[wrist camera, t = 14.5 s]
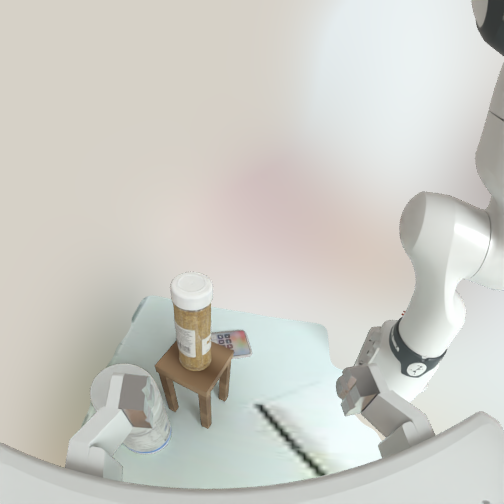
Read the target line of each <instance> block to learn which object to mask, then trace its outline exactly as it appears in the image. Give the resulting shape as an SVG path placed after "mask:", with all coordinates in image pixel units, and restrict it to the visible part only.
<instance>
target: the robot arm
mask: <svg viewBox="0 0 504 504" xmlns="http://www.w3.org/2000/svg"><path fill="white" fill-rule="evenodd" d="M472 8H473V12H474V15H475V18H476V25H477V28H478V30H479V32H480V34H481V36H482V37H483V39H484V41H485V42H487V43H488V44H489V45H490V46H491V47H493V48H494V49H495V50H496V51H498V52H499V53H500V54H502V55H503V56H504V0H472ZM475 159H476V168H477V172H478V174H479V176H480V178H481V180H482V182H483V183H484V185H485V187H486V188H487V189H488V191H489V192H490V194H491V195H492V196H491V201H490V204H489V206H488V207H487V209H485V210H483V209H480V208H477V207H475V206H473V205H471V204H469V203H466V202H464V201H462V200H459V199H457V198H455V197H452V196H450V195H444V194H439V193H431V192H420V193H419V194H417V195H415V196H414V197H413V198H412V199H411V200H410V201H409V202H408V204H407V205H406V207H405V208H404V210H403V213H402V216H401V219H400V228H399V229H400V239H401V243H402V245H403V248H404V250H405V252H406V253H407V255H408V256H409V258H410V260H411V262H412V264H413V267H414V270H415V276H416V285H415V290H414V294H413V296H412V299H411V301H410V303H409V305H408V308H407V310H406V311H404V312H405V313H404V314H402V315H403V317H402V318H400V319H399V320H388V321H386V322H384V324H383V325H382V327H372V328H371V329H370V330H369V332H368V335H367V337H366V340H365V342H364V344H363V347H362V349H361V351H360V353H359V356H358V358H357V360H356V362H355V364H354V366H353V367H348V368H345V369H344V370H343V372H342V373H343V375H342V376H341V377H339V378H338V380H337V382H336V391H337V395H338V397H340V398H341V399H342V403H341V406H342V409H343V412H344V415H345V416H349V415H354V414H359V413H361V414H362V416H364V417H365V418H366V419H367V420H368V421H369V422H370V423H371V424H372V425H373V426H374V427H375V428H376V429H377V430H378V431H379V432H381V433H382V434H383V435H384V436H385V437H386V438H385V439H384V440H383V441H382V442H380V443H379V445H378V447H379V450H380V453H381V456H382V459H379V460H376V461H373V462H370V463H367V464H364V465H361V466H358V467H355V468H351V469H348V470H344V471H340V472H337V473H333V474H329V475H324V476H320V477H316V478H311V479H306V480H300V481H295V482H289V483H282V484H275V485H267V486H258V487H246V488H229V489H186V488H170V487H158V486H149V485H141V484H134V483H128V482H122V471H123V466H122V465H121V464H120V463H119V462H118V461H116V460H115V459H114V458H113V457H112V456H113V455H114V453H115V452H116V451H117V449H118V448H119V447H120V445H121V444H122V443H123V441H124V440H125V439H126V437H127V436H128V435H129V433H130V432H131V431H132V429H133V427H139V428H152V429H153V416H154V415H153V412H152V410H151V409H152V408H153V406H154V402H155V394H154V388H153V385H151V379H150V376H146V375H134V374H126V373H116V372H113V374H112V376H111V380H110V385H109V390H108V395H107V400H106V406H105V407H104V406H102V407H101V408H100V409H99V410H98V411H97V412H96V413H95V414H94V415H93V416H92V417H91V418H90V419H89V420H88V421H87V422H86V423H85V424H84V425H83V426H82V427H81V428H80V429H79V430H78V432H77V433H76V434H75V435H74V436H73V437H72V438H71V439H70V440H69V446H68V452H67V459H66V465H65V468H64V467H61V466H58V465H55V464H52V463H49V462H46V461H44V460H41V459H38V458H36V457H33V456H31V455H28V454H26V453H24V452H21V451H19V450H17V449H14V448H12V447H10V446H8V445H6V444H4V443H0V504H504V430H503V428H502V426H501V424H500V423H499V422H498V421H497V420H496V419H495V418H493V417H492V416H490V415H488V414H487V413H485V412H482V411H479V412H477V413H475V414H473V415H472V416H470V417H468V418H467V419H465V420H463V421H462V422H460V423H458V424H456V425H454V426H453V427H451V428H449V429H447V430H445V431H444V432H441V433H440V434H438V435H436V436H435V433H434V431H433V429H432V427H431V424H430V422H429V420H428V418H427V416H426V414H425V413H423V412H422V411H420V410H419V409H418V408H416V407H415V406H413V405H412V404H411V403H410V402H411V401H412V400H413V399H414V398H415V397H416V396H417V394H419V393H421V392H423V391H425V390H426V389H427V387H428V381H429V380H430V378H431V377H432V375H433V374H434V373H435V371H436V370H437V368H438V366H439V364H438V363H439V362H440V361H441V360H442V359H443V357H444V355H445V353H446V351H447V348H448V346H449V345H450V344H451V342H452V341H453V340H454V338H455V337H456V335H457V334H458V333H459V331H460V330H461V328H462V327H463V325H464V322H465V318H466V308H465V304H464V301H463V300H462V298H461V296H460V295H459V293H458V292H457V290H456V286H457V284H458V283H459V282H460V281H461V280H462V279H466V280H469V281H471V282H474V283H477V284H479V285H482V286H485V287H487V288H490V289H493V290H501V291H504V63H503V66H502V68H501V71H500V74H499V77H498V80H497V83H496V86H495V89H494V93H493V96H492V100H491V103H490V107H489V111H488V115H487V119H486V122H485V126H484V129H483V132H482V136H481V139H480V142H479V145H478V148H477V151H476V158H475Z"/></svg>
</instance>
